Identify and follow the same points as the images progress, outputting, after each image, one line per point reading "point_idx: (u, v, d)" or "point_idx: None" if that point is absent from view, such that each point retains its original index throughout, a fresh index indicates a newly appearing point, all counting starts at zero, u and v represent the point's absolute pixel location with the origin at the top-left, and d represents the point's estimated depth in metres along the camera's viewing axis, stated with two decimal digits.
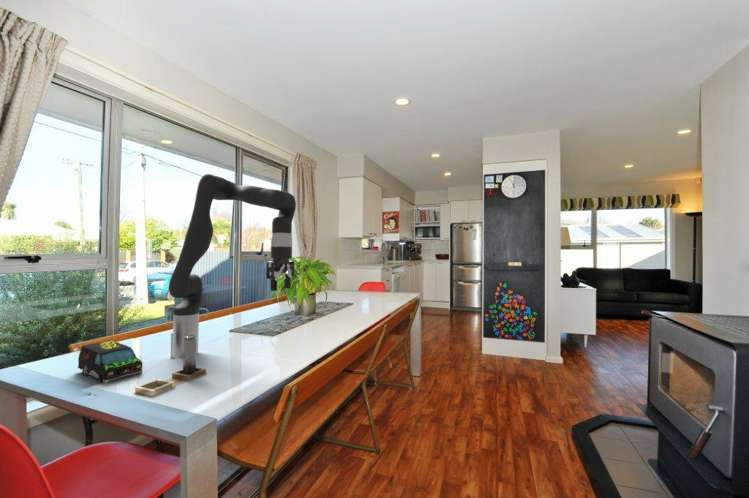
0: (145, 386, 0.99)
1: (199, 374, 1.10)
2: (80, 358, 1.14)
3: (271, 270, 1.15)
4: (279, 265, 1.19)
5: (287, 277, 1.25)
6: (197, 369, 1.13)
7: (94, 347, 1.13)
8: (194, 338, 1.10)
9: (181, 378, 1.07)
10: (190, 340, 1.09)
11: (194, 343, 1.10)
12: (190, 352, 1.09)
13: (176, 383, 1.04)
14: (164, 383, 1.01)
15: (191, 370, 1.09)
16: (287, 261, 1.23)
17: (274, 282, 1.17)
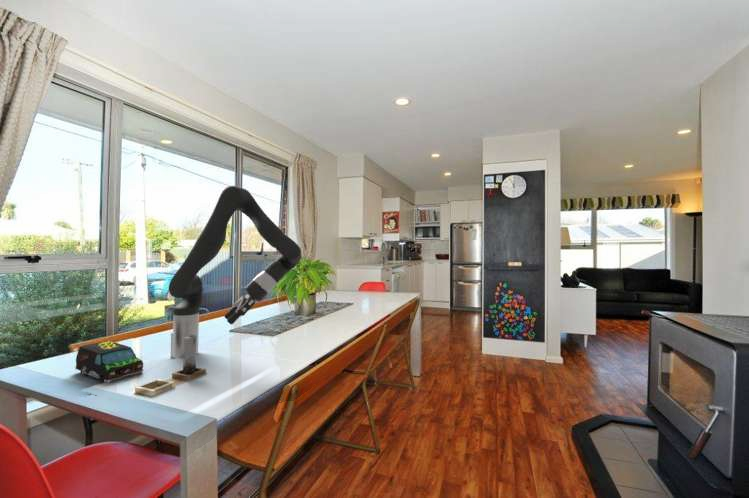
0: (145, 386, 0.99)
1: (199, 374, 1.10)
2: (78, 359, 1.14)
3: (248, 308, 1.13)
4: None
5: (235, 309, 1.21)
6: (197, 369, 1.13)
7: (93, 347, 1.12)
8: (194, 338, 1.10)
9: (181, 378, 1.07)
10: (190, 340, 1.09)
11: (194, 343, 1.10)
12: (190, 352, 1.09)
13: (176, 383, 1.04)
14: (164, 383, 1.01)
15: (191, 370, 1.09)
16: None
17: (237, 317, 1.13)
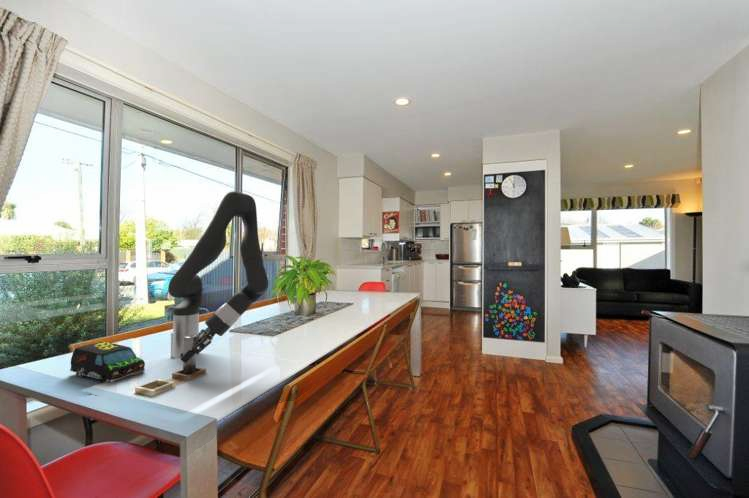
0: (145, 386, 0.99)
1: (199, 374, 1.10)
2: (74, 360, 1.12)
3: (203, 348, 1.07)
4: None
5: None
6: (197, 369, 1.13)
7: (91, 348, 1.11)
8: (194, 338, 1.10)
9: (181, 378, 1.07)
10: (190, 340, 1.09)
11: None
12: None
13: (176, 383, 1.04)
14: (164, 383, 1.01)
15: (191, 370, 1.09)
16: None
17: (192, 355, 1.08)
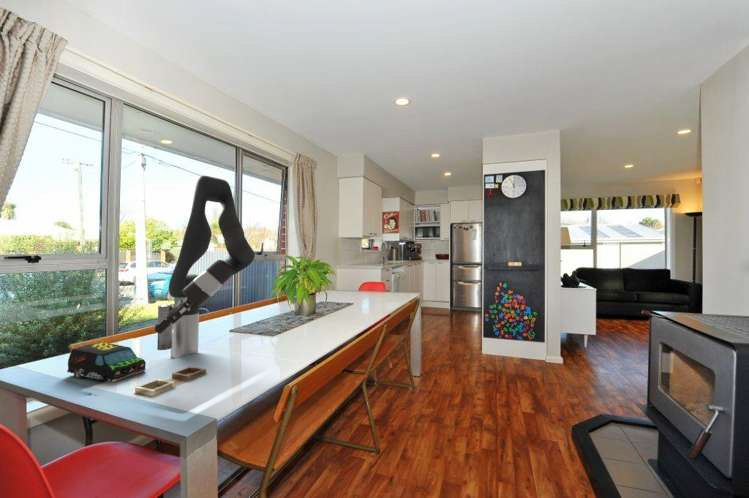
0: (145, 386, 0.99)
1: (199, 374, 1.10)
2: (71, 361, 1.11)
3: (179, 317, 0.98)
4: None
5: None
6: (197, 369, 1.13)
7: (89, 349, 1.11)
8: (170, 307, 1.01)
9: (181, 378, 1.07)
10: (165, 309, 1.00)
11: None
12: None
13: (176, 383, 1.04)
14: (164, 383, 1.01)
15: (167, 342, 1.00)
16: None
17: (167, 325, 0.99)
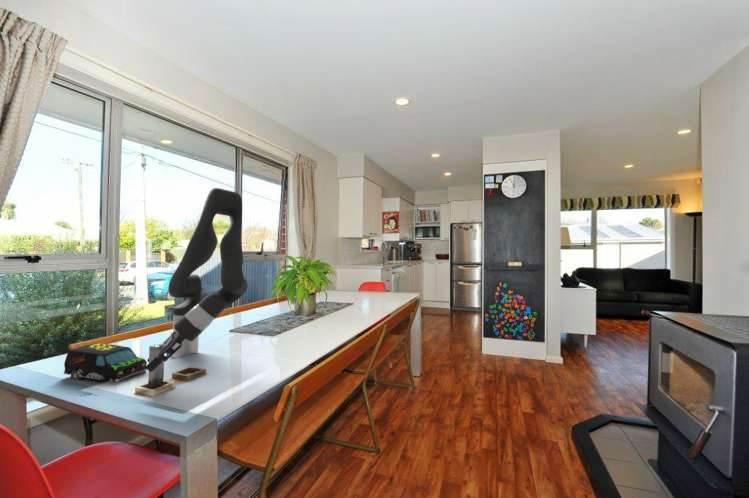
0: (145, 386, 0.99)
1: (199, 374, 1.10)
2: (69, 363, 1.10)
3: (171, 353, 0.95)
4: None
5: None
6: (197, 369, 1.13)
7: (88, 350, 1.10)
8: None
9: (181, 378, 1.07)
10: (156, 350, 0.97)
11: None
12: None
13: (176, 383, 1.04)
14: (164, 383, 1.01)
15: (158, 383, 0.98)
16: None
17: (159, 363, 0.96)
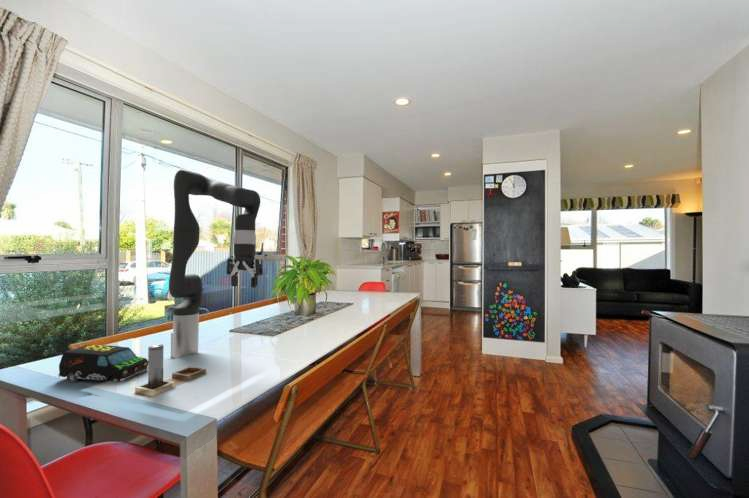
0: (145, 386, 0.99)
1: (199, 374, 1.10)
2: (64, 365, 1.07)
3: (261, 267, 1.20)
4: None
5: (235, 275, 1.23)
6: (197, 369, 1.13)
7: (86, 351, 1.09)
8: (160, 348, 0.98)
9: (181, 378, 1.07)
10: (155, 350, 0.97)
11: (160, 353, 0.98)
12: (155, 363, 0.97)
13: (176, 383, 1.04)
14: (164, 383, 1.01)
15: (157, 383, 0.98)
16: None
17: None
